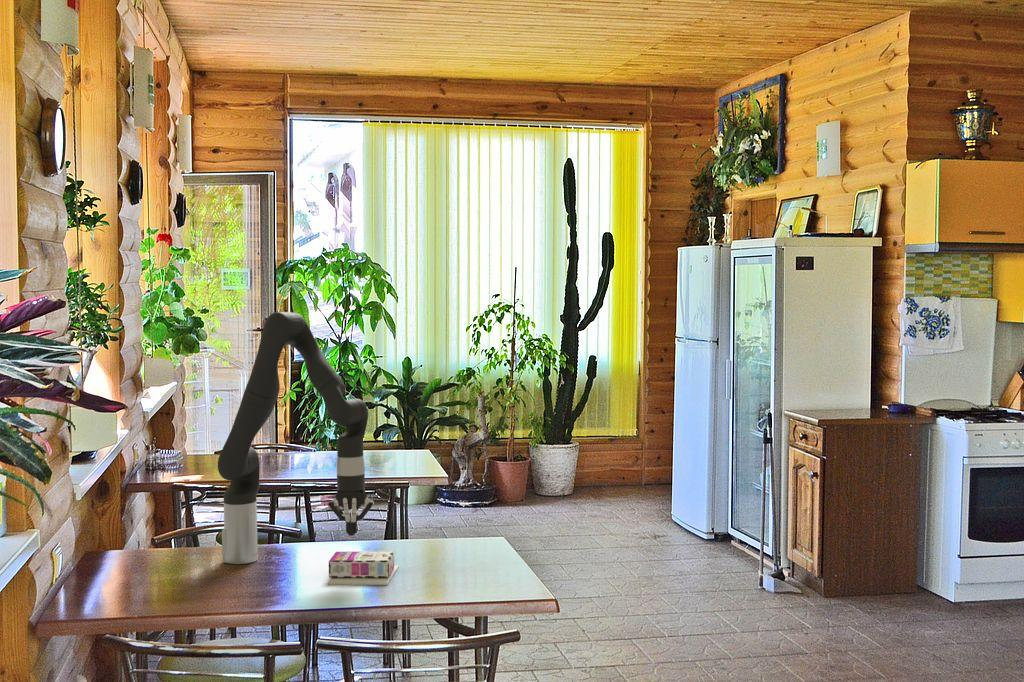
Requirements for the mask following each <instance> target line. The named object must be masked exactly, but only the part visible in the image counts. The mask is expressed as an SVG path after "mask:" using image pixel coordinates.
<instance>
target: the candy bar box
mask: <svg viewBox="0 0 1024 682" xmlns="http://www.w3.org/2000/svg"><path fill="white" fill-rule="evenodd" d="M394 565H395V552H394V551H380V550H379V551H377V550H375V551H336V552H335V553H334V554H333V555H332V556H331V558H329V560H328V577H329V579H331V578H389V576H390V574H391V572H392V570H393V568H394Z"/></svg>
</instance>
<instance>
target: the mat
mask: <svg viewBox="0 0 1024 682" xmlns="http://www.w3.org/2000/svg"><path fill="white" fill-rule="evenodd" d="M399 568H400V565H398V564H397V565H396V564H394V568H393V570H392V572H391V574H390V576H389V578H329V580H328V581H327V584H328V585H347V586H348V585H356V586H357V585H359V586H360V585H362V586H388V585H389V584H390V582H391V580H392V578H393V577H394V576H395V575H396V573H397V571H398V570H399Z"/></svg>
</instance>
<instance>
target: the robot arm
mask: <svg viewBox="0 0 1024 682" xmlns="http://www.w3.org/2000/svg"><path fill="white" fill-rule="evenodd" d="M264 322H265V323H264V324H263V328H262V331H261V337H260V340H259V345H258V351H257V352H256V353H257V354H256V357H255V360H254V363H253V367H252V370H251V372H250V376H249V378H248V381H247V384H246V386H245V389H244V392H243V394H242V398H241V401H240V405H239V407H238V410H237V412H236V415H235V419H234V421H233V425H232V426H231V427H232V428H231V430H230V432H229V434H228V437H227V439H226V441H225V443H224V444H223V446H222V449H221V451H220V453H219V456H218V459H217V470H218V473H219V475H220V477H221V478H223V479H224V480H226V481H230V483H229V486H228V488H227V489H226V490H225V491H224V493H223V527H224V528H222V530H221V551H222V553H221V554H222V559H221V560H222V563H225V564H230V565H244V564H251V563H255V562H256V561H258V559H259V557H258V556H259V555H258V554H259V552H258V551H259V550H258V515H257V514H258V513H257V511H258V509H257V507H258V506H257V502H258V501H257V496H258V492H259V488H260V469H261V468H260V458H259V454H258V453H257V451H256V449H255V448H254V447H252V444H253V441H254V440H255V437H256V436H257V434H258V433H259V432H260V430H261V429H262V427H263V426H264V425H265V424H266V422H267V420H269V417H270V416H271V415H272V413H273V410H274V408H275V406H276V403H277V400H278V397H279V394H280V390H281V389H280V387H281V385H280V375H279V370H278V367H279V362H280V361H279V360H280V358H281V354H282V351H283V349H284V347H285V346H292V347H293V348H295V350H296V351H297V352H298V353H299V354H300V356H301V357H302V359H303V362H304V364H305V368H306V373H307V376H308V379H309V381H310V382H311V384H312V386H313V387H314V388H315V390H316V391H317V393H319V395H320V396H321V397H322V399H323V403H324V406H325V408H326V410H327V413H328V415H329V417H330V419H331V421H333V422H334V423H335V424H336V425H338V426H339V427H345V431H344V432H343V433H342V434H341V435H339V436H338V437H337V442H336V443H337V444H336V447H337V448H336V450H337V452H336V453H337V455H336V456H337V459H336V490H337V491H336V494H335V498H333V499H332V500H330V501H328V504H327V505H328V507H329V508H330V509H331V510H332V512H333V513H334V514H335V515H336V517H337V518H338V520H339V521H344V522H345V528H346V529H345V532H346V534H348V536H350V537H353V536H355V535H356V534H357V533H358V522H359V521H362V520H363V519H364V518H365V516H366V515H367V513H369V511H370V510H371V508H373V506H374V504H375V501H374V500H372V499H370V498H369V497H368V493H366V483H365V481H366V477H365V476H366V475H365V473H366V467H365V458H364V438H365V435H366V434H365V433H366V429H367V425H368V419H369V409H368V407H367V405H366V403H365V401H364V400H362V399H360V398H350V399H345V398H344V394H345V392H346V385H345V383H344V382H343V380H342V379H341V378H340V376H339V374H338V373H337V372H336V371H335V370H334V369H335V368H333V367H332V365H331V364H330V362H329V361H328V359H327V358H326V357H325V355H324V352H323V351H322V350H321V348H320V346H319V344H318V342H317V339H316V338H315V336H314V335H313V332H312V331H311V330H312V329H311V328H310V326H309V324H308V322H307V321H306V319H305V318H304V317H303V316H302V315H301V314H299V313H298V312H293V311H292V312H291V311H275V312H273V313H271V314H269V316H268V317H267V319H266V320H265V321H264ZM363 503H364V508H363V510H362V511H361V513H360V514H359V511H360V510H359V509H360V508H361V507H362V506H363ZM339 505H340V506H341V508H342V509H343V510H342V509H341V508H340V507H339Z"/></svg>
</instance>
